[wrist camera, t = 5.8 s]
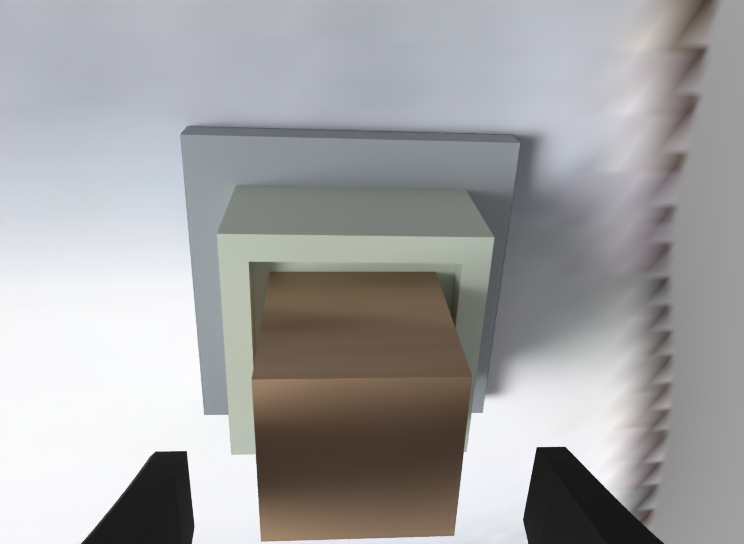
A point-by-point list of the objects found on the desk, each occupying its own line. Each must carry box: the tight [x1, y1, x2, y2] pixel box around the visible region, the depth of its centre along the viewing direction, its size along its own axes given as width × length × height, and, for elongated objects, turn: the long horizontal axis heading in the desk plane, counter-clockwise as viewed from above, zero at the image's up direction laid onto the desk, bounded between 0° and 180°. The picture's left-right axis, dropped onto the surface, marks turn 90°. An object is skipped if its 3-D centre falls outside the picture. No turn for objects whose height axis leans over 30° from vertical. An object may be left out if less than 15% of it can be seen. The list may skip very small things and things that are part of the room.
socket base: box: [180, 127, 520, 455], centre depth 20 cm, size 10×10×5 cm
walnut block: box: [251, 272, 472, 542], centre depth 17 cm, size 4×4×5 cm
